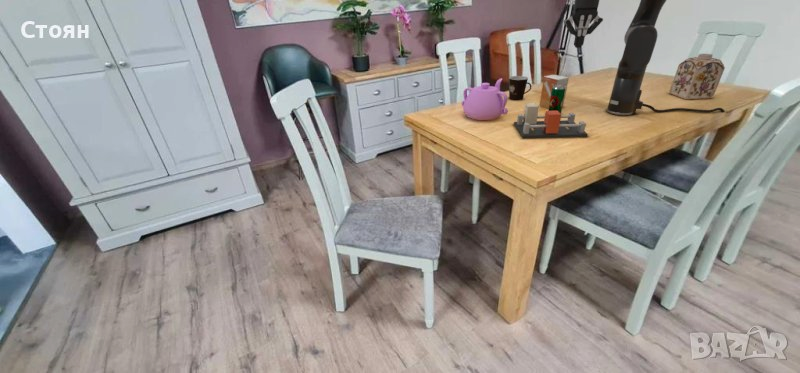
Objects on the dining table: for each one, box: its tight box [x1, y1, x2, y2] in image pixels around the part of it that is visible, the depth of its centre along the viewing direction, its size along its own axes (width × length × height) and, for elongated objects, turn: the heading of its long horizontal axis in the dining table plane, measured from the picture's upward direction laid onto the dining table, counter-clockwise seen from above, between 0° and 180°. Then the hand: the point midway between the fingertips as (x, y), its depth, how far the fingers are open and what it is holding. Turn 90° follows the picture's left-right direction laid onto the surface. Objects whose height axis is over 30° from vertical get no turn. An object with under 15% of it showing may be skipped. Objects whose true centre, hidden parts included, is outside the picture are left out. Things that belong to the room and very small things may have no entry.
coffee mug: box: [508, 75, 532, 102], centre depth 160 cm, size 12×9×10 cm
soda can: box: [547, 84, 567, 114], centre depth 138 cm, size 5×5×12 cm
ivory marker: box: [523, 102, 540, 124], centre depth 127 cm, size 4×4×7 cm
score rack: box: [513, 112, 588, 139], centre depth 124 cm, size 22×15×5 cm
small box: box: [539, 74, 570, 109], centre depth 147 cm, size 8×6×13 cm
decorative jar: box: [668, 53, 726, 100], centre depth 148 cm, size 12×12×18 cm
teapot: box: [461, 77, 509, 121], centre depth 142 cm, size 22×22×14 cm
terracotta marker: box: [543, 110, 562, 133], centre depth 118 cm, size 4×4×7 cm
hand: (577, 47), depth 122 cm, fingers closed
